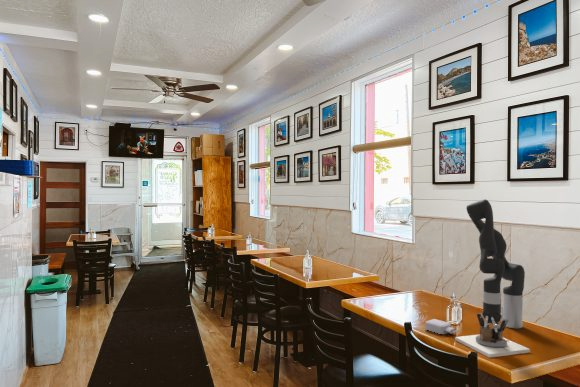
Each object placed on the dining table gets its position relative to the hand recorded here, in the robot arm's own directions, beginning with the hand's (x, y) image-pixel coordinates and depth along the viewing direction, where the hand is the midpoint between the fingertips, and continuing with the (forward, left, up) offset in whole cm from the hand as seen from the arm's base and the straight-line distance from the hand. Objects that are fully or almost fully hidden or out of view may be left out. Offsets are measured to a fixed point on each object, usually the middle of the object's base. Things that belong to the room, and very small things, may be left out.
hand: (491, 338), depth 192 cm
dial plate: (0, 0, -4) cm, 4 cm away
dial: (0, 0, -2) cm, 2 cm away
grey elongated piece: (-22, -10, -4) cm, 25 cm away
